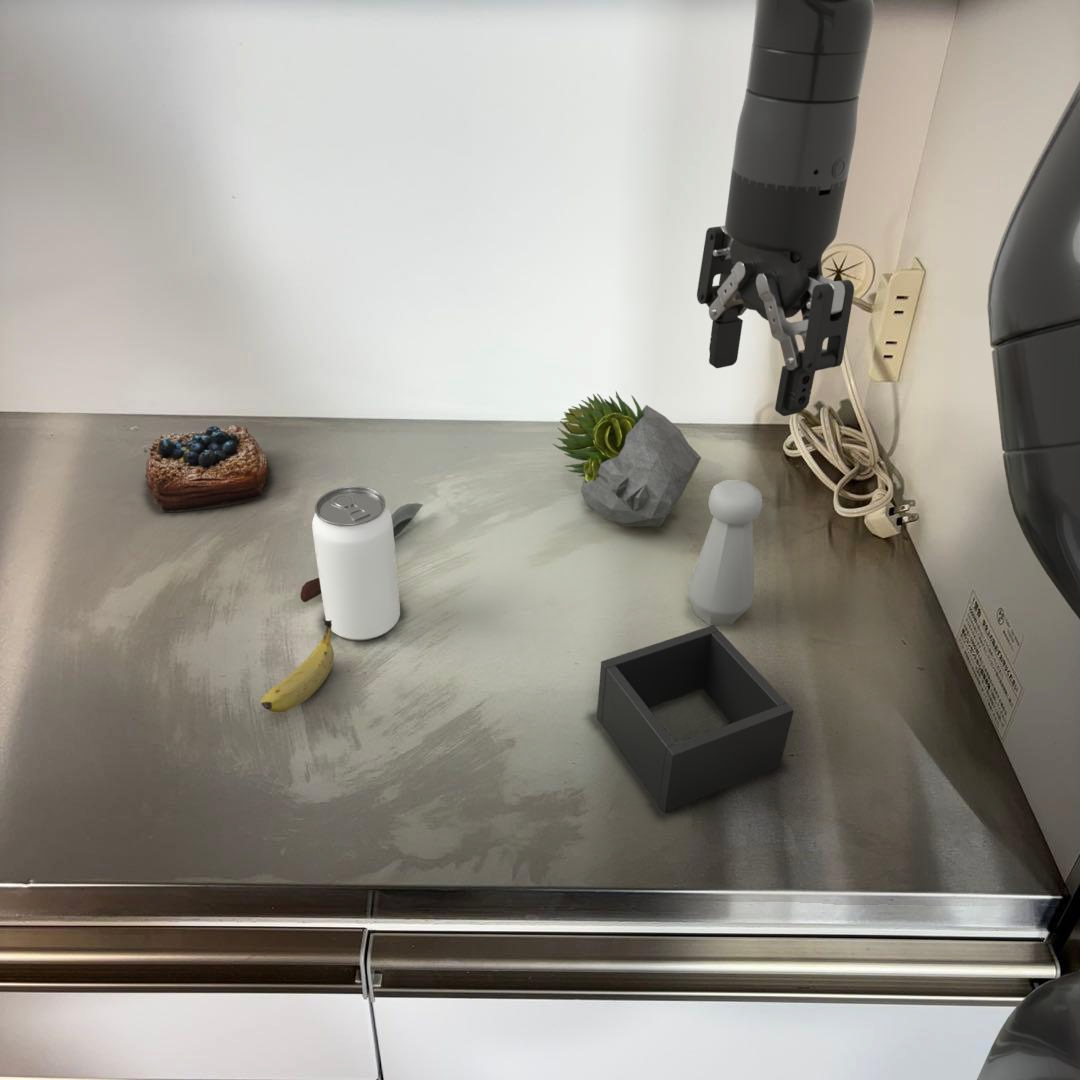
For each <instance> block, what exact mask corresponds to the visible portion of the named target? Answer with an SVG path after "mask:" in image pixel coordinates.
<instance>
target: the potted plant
mask: <svg viewBox="0 0 1080 1080" xmlns="http://www.w3.org/2000/svg"><path fill="white" fill-rule="evenodd" d="M596 395H597V396H596ZM592 396H593V399H592V398H591V397H589V396H586V398H587V400H588V401H586V400H583V399H580V401H581V402H582V403H583V404H585V405H583V404H580V403H578V406H579V407H578V406H571V408H567V410H568V412H566V411H563V414H564V416H565V417H563V418H560V420H559V423H561V424H562V425H563V427H564V429H566V431H565V430H563V429H561V428H560V427H558V426H556V428H557V429H558V430H559V432H561V433H562V435H564V436H565V437H566V438H563V437H562V438H561V437H556V439H557V440H559V441H560V442H561V443H562V444H563V445H562V446H561V445H557V444H555V443H552V445H553V446H554V447H555V448H557V449H559V450H561V451H562V452H564V455H565V456H567V457H570V458H572V459H575V460H578V461H584V462H580V463H573V464H567V465H564V467H566V468H573V469H567V472H571V473H576V474H577V476H578V477H582V478H583V481H582V484H581V488H580V492H581V495H582V498H583V500H584V503H585V504H586V505H587V507H588V508H589V509H590V510H592V511H594V512H595V513H597V514H598V515H600V516H601V517H602V518H603V519H605V520H607V521H608V522H611V523H613V524H614V525H617V526H619V527H654V528H656V527H658V528H659V527H662V525H663V524H664V522H665V521H666V520H667V519H666V518H667V517H668V516H669V514H670V513H671V511H672V510H673V509H674V508H675V506H676V505H677V504H678V503H679V501H680V499H682V498H681V497H682V496H683V494H684V492H685V490H686V488H687V487H688V485H689V482H690V481H691V478H692V477H693V475H694V473H695V472H696V469H697V467H698V465H699V463H700V461H701V459H702V456H701V455H700V454H699V453H698V452H697V451H696V450H695V449H694V448H693V447H692V446H691V445H690V444H689V443H688V440H687V439H686V437H685V436H684V434H683V432H682V431H681V429H680V428H678V427H677V426H676V425H675V424H674V423H673V422H672V421H671V420H670V419H668V418H667V416H666V415H663V414H662V413H660V412H658V411H657V410H655V409H653V408H652V407H651V406H650V405H648V404H645V405H644V407H643V408H641V406H640V404H639V403H638V401H637V400H636V398H635V397H634V396H633V395H632V394H631V395H630V396H631V398H632V400H633V403H634V406H635V408H636V413H635V412H634V411H633V409H632V408H631V407H630V406H629V404H627V403H626V402H625V401H623V399H622V398H621V397H620V395H619V393H618V392H617V391H615V398H616V400H617V402H618V403H617V402H616V401H615V400H614V399H613V397H611V396H610V395H608V398H609V400H607V399H606V398H602V397H601V395H600V394H599V393H596V394H594V393H592Z"/></svg>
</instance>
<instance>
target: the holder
mask: <svg viewBox="0 0 1080 1080" xmlns="http://www.w3.org/2000/svg"><path fill="white" fill-rule="evenodd" d="M598 683H599V686H598V697H597V699H598V700H597V712H596V719H597V720H598V721H599V723H600V724H601V725H602V727H603V728H604V729H605V731H606V733H607V734H608V735H609V736H610V738H611V739H612V741H613V742H614V743H615V745H616V746H617V748H618V749H619V751H620V752H621V754H622V755H623V756H624V758H625V759H626V760H627V762H628V764H629V765H630V766H631V767H632V769H633V770H634V772H635V773H636V774H637V776H638V777H639V779H640V780H641V781H642V783H643V785H644V786H645V787H646V789H647V790H648V791H649V793H650V794H651V795H652V797H653V799H654V800H655V801H656V803H657V804H658V805H659V807H660V809H661V810H662V812H663V813H665V814H666V813H668V812H671V811H673V810H675V809H678V808H680V807H683V806H685V805H688V804H691V803H693V802H695V801H698V800H700V799H703V798H706V797H708V796H711V795H713V794H716V793H718V792H721V791H723V790H726V789H728V788H730V787H733V786H735V785H738V784H740V783H742V782H745V781H748V780H751V779H753V778H755V777H758V776H760V775H763V774H766V773H768V772H771V771H773V770H775V769H778V768H780V767H781V765H782V762H783V757H784V753H785V749H786V745H787V740H788V737H789V733H790V730H791V724H792V721H793V716H794V712H795V709H794V708H793V707H792V706H791V704H789V703H788V701H787V700H785V698H784V697H783V696H782V695H781V694H780V693H779V692H778V691H777V690H776V688H774V687H773V686H772V684H771V683H769V682H768V680H767V679H766V678H764V676H763V675H762V674H761V673H760V672H759V671H758V670H757V669H756V668H755V667H754V665H753V664H751V662H750V661H749V660H748V659H747V658H746V657H745V656H744V655H743V654H742V653H741V652H740V651H739V650H738V649H737V647H736V646H735V645H734V644H732V641H730V640H729V639H728V638H727V637H726V635H724V634H723V633H722V632H721V631H720V630H719V628H717V625H708V626H706V627H703V628H700V629H697V630H694V631H691V632H688V633H687V632H686V633H685V634H681V635H677V636H675V637H672V638H669V639H665V640H663V641H660V642H656V643H653V644H651V645H650V644H649V645H647V646H645V647H641V648H638V649H635V650H633V651H628V652H626V653H623V654H620V655H617V656H613V657H610V658H607V659H604V660H602V661H600V671H599V682H598ZM701 690H703V691H704V693H705V694H706V695H707V696H708V697H709V698H710V700H711V701H712V702H713V703H714V704H715V706H716V707H717V708H718V709H719V710H720V711H721V712H722V714H723V715H724V716H725V717H726V719H727V720H728V721H729V722H730V723H729V724H726V725H723V726H721V727H718V728H715V729H713V730H710V731H707V732H705V733H702V734H700V735H699V734H698V735H697V736H694V737H691V738H689V739H686V740H683V741H680V742H677V743H676V742H675V740H674V739H673V738H672V735H670V733H669V732H668V731H667V730H666V729H665V727H664V726H663V725H662V724H661V722H660V721H659V720H658V718H657V717H656V716H655V714H654V713H653V712H652V710H651V709H650V708H652V707H656V706H657V705H660V704H663V703H666V702H670V701H672V700H675V699H677V698H680V697H683V696H686V695H689V694H691V693H694V692H698V691H701Z"/></svg>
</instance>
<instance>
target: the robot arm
mask: <svg viewBox="0 0 1080 1080" xmlns="http://www.w3.org/2000/svg"><path fill="white" fill-rule="evenodd" d="M874 3H875V2H874V0H755V7H754V8H755V13H754V23H753V31H752V32H753V34H752V43H751V51H750V58H749V66H748V74H747V81H746V89H745V94H744V99H743V103H742V107H741V110H740V114H739V119H738V123H737V129H736V135H735V142H734V152H733V158H732V159H733V160H732V167H731V174H730V183H729V189H728V190H729V191H728V196H727V197H728V198H727V205H726V213H725V220H724V225H719V226H712V227H708V228H707V229H706V231H705V232H706V233H705V238H704V244H703V251H702V258H701V265H700V271H699V277H698V283H697V290H696V299H697V302H698V303H699V304H700V305H704V304H706V306H707V307H708V316H709V318H710V319H711V321H712V324H711V332H710V340H709V346H708V347H709V348H708V350H709V356H708V357H709V358H708V363H709V365H711V366H712V367H713V368H715V369H722V368H726V367H731V366H733V365H735V364H736V362H737V361H738V358H739V357H738V356H739V349H740V343H741V335H742V329H743V322H744V320H743V319H742V318H740V316H742V315H744V313H745V312H746V311H747V310H751V311H755V312H757V314H758V315H759V316H760V317H761V318H763V319H764V320H766V321H767V322H768V325H769V330H770V333H771V336H772V338H773V339H775V340H777V341H778V342H779V345H780V348H781V352H782V357H783V361H784V364H785V365H782V367H781V372H780V376H779V377H780V378H779V384H778V390H777V395H776V400H775V407H774V410H775V412H776V413H778V414H779V415H781V416H782V417H788V416H791V415H795V414H799V413H801V412H804V410H805V409H807V407H808V406H809V404H810V399H811V394H812V389H813V386H814V385H813V384H814V380H815V373H816V372H817V371H822V370H826V369H831V368H837V367H840V366H841V365H842V363H843V359H844V354H845V348H846V341H847V336H848V331H849V323H850V317H851V311H852V305H853V300H854V294H855V286H854V283H853V281H851V280H850V279H844V280H836V281H835V280H832V279H831V278H827V277H825V276H824V273H823V267H822V259H823V255H824V253H825V251H826V250H827V249H828V247H830V245H831V244H832V243H833V242H834V241H835V239H836V237H837V233H838V228H839V224H840V219H841V213H842V209H843V208H842V207H843V203H844V198H845V193H846V188H847V183H848V177H849V171H850V167H851V162H852V157H853V151H854V147H855V140H856V134H857V123H858V108H859V106H858V105H859V101H860V94H861V90H862V89H861V88H862V85H863V78H864V74H865V70H866V69H865V68H866V63H867V58H868V52H869V47H870V42H871V37H872V32H873V26H874V19H875V4H874ZM1021 191H1022V192H1021V193H1020V195H1019V198H1018V200H1017V202H1016V204H1015V206H1014V208H1013V209H1012V212H1011V215H1010V217H1009V219H1008V222H1007V225H1006V227H1005V229H1004V232H1003V233H1002V234H1003V235H1002V237H1001V239H1000V243H999V246H998V249H997V252H996V255H995V258H994V261H993V264H992V269H991V274H990V277H989V282H988V292H987V307H986V308H987V317H988V330H989V332H988V333H989V345H990V347H991V348H992V351H991V361H992V369H993V378H994V386H995V397H996V403H997V404H996V405H997V414H998V423H999V430H1000V431H999V433H1000V441H1001V450H1002V451H1003V453H1002V460H1003V467H1004V472H1005V479H1006V485H1007V490H1008V491H1007V492H1008V495H1009V499H1010V502H1011V505H1012V510H1013V514H1014V516H1015V518H1016V521H1017V522H1018V525H1019V527H1020V530H1021V533H1022V534H1023V536H1024V538H1025V539H1026V541H1027V543H1028V545H1029V547H1030V549H1031V551H1032V553H1033V555H1034V556H1035V558H1036V559H1037V561H1038V562H1039V564H1040V566H1041V567H1042V569H1043V570H1044V572H1045V574H1046V576H1048V578H1049V579H1050V581H1051V583H1052V584H1053V585H1054V586H1055V587H1056V589H1057V591H1058V592H1059V593H1060V594H1061V596H1062V597H1063V599H1064V600H1065V602H1066V603H1067V604H1068V606H1069V607H1070V609H1071V611H1073V613H1074V614H1075V615H1076V617H1077V618H1078V619H1079V620H1080V81H1078V83H1077V85H1076V86H1075V89H1074V91H1073V93H1072V94H1071V97H1070V99H1068V102H1067V104H1066V106H1065V108H1064V109H1063V111H1062V113H1061V115H1060V117H1059V118H1058V121H1057V122H1056V124H1055V126H1054V128H1053V130H1052V132H1051V134H1050V135H1049V138H1048V139H1047V141H1046V143H1045V145H1044V147H1043V148H1042V151H1041V153H1040V155H1039V157H1038V158H1037V161H1036V162H1035V164H1034V166H1033V168H1032V171H1031V172H1030V175H1029V176H1028V179H1027V180H1026V183H1025V185H1024V187H1023V189H1022V190H1021ZM717 275H719V280H718V285H714V280H715V277H716V276H717ZM799 312H800V313H801V316H802V320H799V321H794V322H790V321H788V320H787V319H789V318H792V317H795V316H796V315H798V313H799ZM796 336H800V337H801V338H802V342H803V346H804V349H802V350H800V349H799V345H798V341H797V337H796ZM826 339H827V344H826V349H825V348H823V345H824V341H825V340H826ZM976 1080H1080V970H1078V971H1074V972H1071V973H1067V974H1063V975H1061V976H1058V977H1055V978H1053V979H1051V980H1047V981H1046V982H1044V983H1042V984H1040V985H1039V986H1037V987H1036V988H1035V989H1033V991H1031V992H1030V993H1029V994H1028V995H1027V996H1025V997H1024V998H1023V999H1022V1001H1020V1002H1019V1004H1017V1006H1015V1008H1014V1009H1013V1010H1012V1012H1011V1013H1010V1014H1009V1016H1007V1019H1006V1020H1005V1021H1004V1023H1003V1024H1002V1027H1001V1028H1000V1029H999V1031H998V1033H997V1036H996V1037H995V1039H994V1041H993V1043H992V1045H991V1047H990V1049H989V1051H988V1054H987V1056H986V1058H985V1060H984V1063H983V1065H982V1067H981V1069H980V1071H979V1074H978V1076H977V1079H976Z"/></svg>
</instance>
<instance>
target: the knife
mask: <svg viewBox="0 0 1080 1080" xmlns="http://www.w3.org/2000/svg"><path fill="white" fill-rule="evenodd" d="M423 506H424V504H423V503H418V502H414V503H406V504H404V505H400V507H398V508H397V509H396V510H395V511H394V512H393V513H392V514H391V517H392V523H393V533H394V539H395V538H396V537H397V536H398V535H399V534H400V533H401V532H402V531H403V530H404V529H405V528H406V527H407V526H408V525H409V523H411V521H412V520H413V519H414V517H415V516H416V515H417V514H418V512H419V511H420V509H421V508H422V507H423ZM319 595H322V593H321V586H320V580H319V577H316V578H314V579H312V580H308V581H306V582H305V583H304V584H303V586H302V587H301V590H300V600H301V601H302V603H307V602H309V601H311V600H312V599H315V598H316V597H318V596H319Z"/></svg>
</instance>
